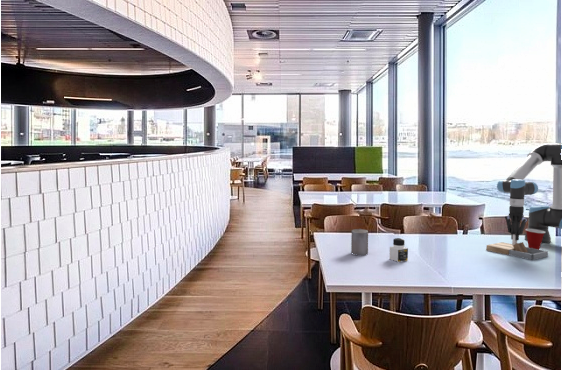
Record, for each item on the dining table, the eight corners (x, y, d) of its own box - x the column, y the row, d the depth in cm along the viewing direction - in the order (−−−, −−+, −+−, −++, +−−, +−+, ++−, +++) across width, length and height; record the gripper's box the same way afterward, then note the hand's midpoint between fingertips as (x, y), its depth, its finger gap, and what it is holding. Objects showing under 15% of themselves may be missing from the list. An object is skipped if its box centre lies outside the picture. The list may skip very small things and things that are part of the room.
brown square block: (518, 244, 267) (523, 242, 265) (523, 253, 265) (527, 251, 263) (512, 245, 264) (517, 243, 262) (517, 254, 262) (521, 253, 260)
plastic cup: (547, 251, 270) (548, 231, 268) (527, 250, 272) (528, 231, 271) (540, 247, 280) (541, 228, 279) (521, 246, 282) (522, 227, 281)
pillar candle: (355, 250, 271) (355, 226, 269) (370, 253, 265) (371, 228, 264) (348, 254, 263) (348, 229, 262) (363, 256, 257) (363, 230, 256)
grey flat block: (523, 251, 270) (523, 246, 270) (547, 256, 258) (547, 251, 258) (508, 254, 262) (509, 249, 262) (532, 260, 250) (533, 254, 250)
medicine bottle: (398, 262, 245) (398, 240, 244) (389, 259, 252) (389, 238, 251) (407, 260, 249) (408, 239, 248) (398, 257, 255) (399, 236, 254)
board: (502, 246, 282) (502, 242, 282) (524, 251, 270) (524, 246, 270) (486, 250, 274) (486, 245, 273) (508, 254, 262) (508, 249, 262)
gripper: (502, 204, 268) (500, 244, 270) (523, 207, 257) (521, 248, 259) (509, 204, 272) (507, 242, 274) (531, 206, 261) (529, 246, 263)
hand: (514, 245), depth 267 cm, fingers closed
